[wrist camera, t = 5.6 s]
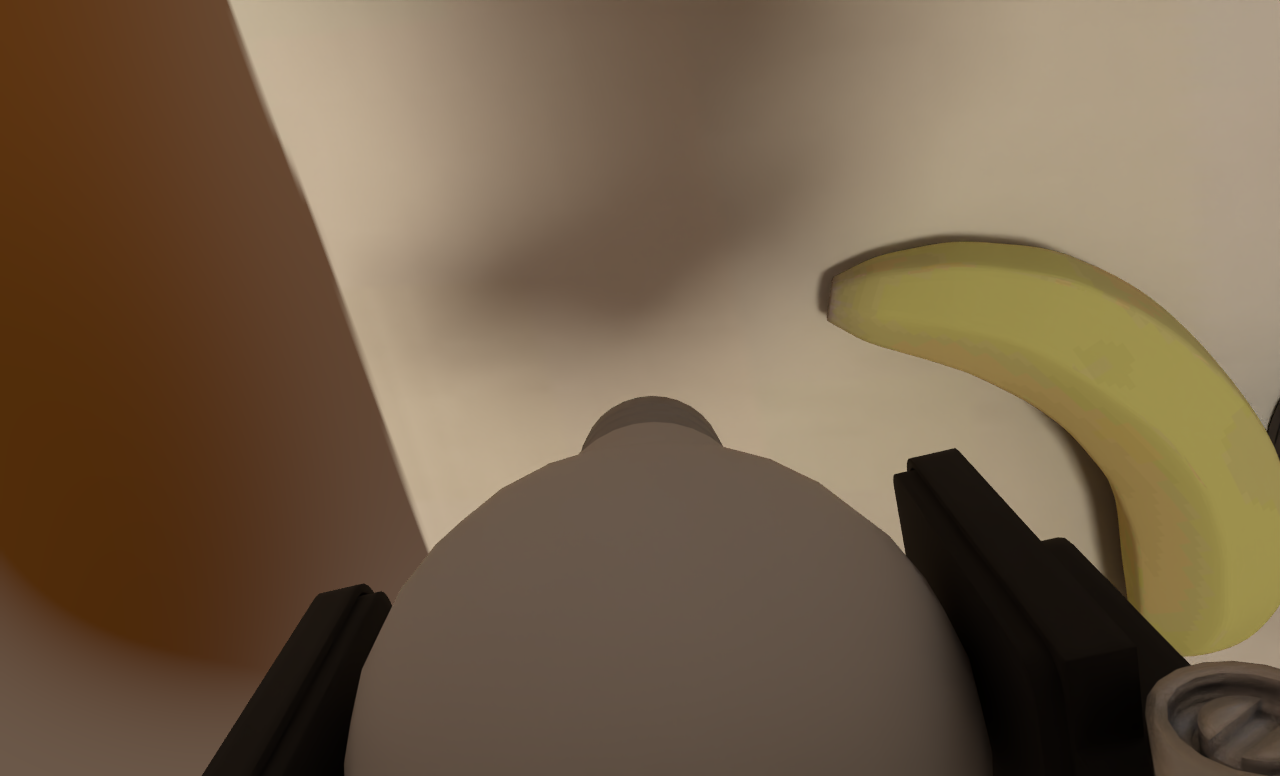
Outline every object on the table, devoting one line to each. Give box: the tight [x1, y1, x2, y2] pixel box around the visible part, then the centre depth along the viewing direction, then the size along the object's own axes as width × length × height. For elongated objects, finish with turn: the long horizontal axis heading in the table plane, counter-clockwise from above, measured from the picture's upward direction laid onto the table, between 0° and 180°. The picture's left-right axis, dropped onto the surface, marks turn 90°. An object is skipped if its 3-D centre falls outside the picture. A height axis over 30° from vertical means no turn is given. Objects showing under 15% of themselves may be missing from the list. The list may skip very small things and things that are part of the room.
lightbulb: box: [344, 396, 993, 776], centre depth 11 cm, size 6×6×11 cm
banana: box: [827, 242, 1280, 657], centre depth 31 cm, size 14×6×20 cm
